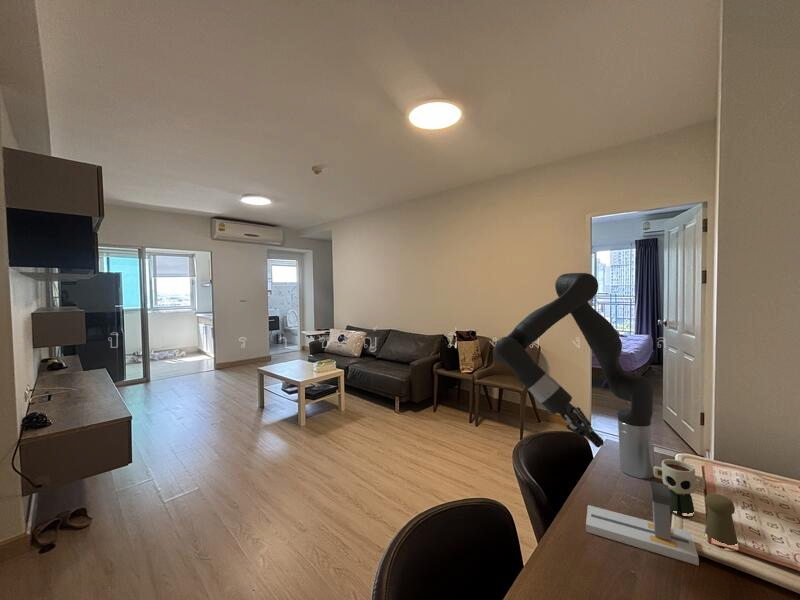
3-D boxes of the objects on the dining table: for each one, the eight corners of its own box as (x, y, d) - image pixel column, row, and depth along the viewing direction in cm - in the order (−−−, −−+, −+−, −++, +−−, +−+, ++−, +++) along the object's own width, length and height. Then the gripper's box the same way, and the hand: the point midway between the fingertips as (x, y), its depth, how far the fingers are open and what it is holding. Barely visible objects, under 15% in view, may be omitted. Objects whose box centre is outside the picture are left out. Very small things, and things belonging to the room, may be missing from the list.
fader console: (586, 531, 85) (585, 523, 85) (588, 511, 93) (587, 504, 93) (698, 565, 73) (698, 556, 73) (690, 539, 81) (690, 531, 81)
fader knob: (654, 538, 79) (652, 493, 79) (651, 523, 84) (649, 481, 84) (673, 544, 77) (671, 497, 77) (669, 528, 82) (667, 484, 82)
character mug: (654, 510, 92) (652, 464, 92) (655, 498, 97) (653, 454, 97) (707, 526, 85) (705, 477, 85) (705, 512, 90) (703, 465, 90)
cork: (746, 552, 76) (744, 505, 76) (716, 549, 77) (713, 503, 77) (726, 534, 82) (724, 490, 82) (698, 531, 83) (696, 488, 83)
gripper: (555, 391, 86) (612, 447, 80) (562, 379, 97) (612, 427, 91) (535, 408, 89) (588, 463, 83) (543, 394, 100) (591, 442, 94)
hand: (601, 444), depth 87 cm, fingers closed
